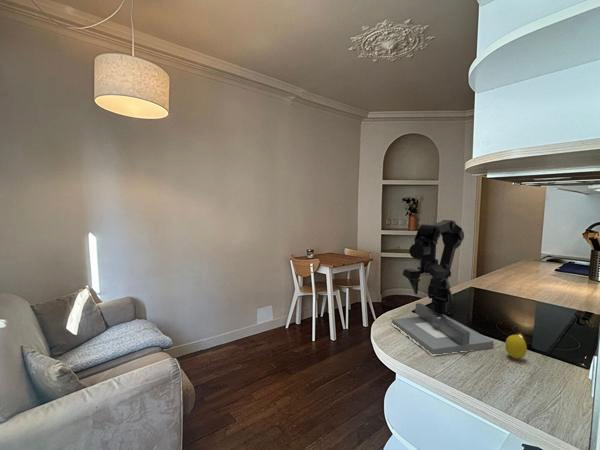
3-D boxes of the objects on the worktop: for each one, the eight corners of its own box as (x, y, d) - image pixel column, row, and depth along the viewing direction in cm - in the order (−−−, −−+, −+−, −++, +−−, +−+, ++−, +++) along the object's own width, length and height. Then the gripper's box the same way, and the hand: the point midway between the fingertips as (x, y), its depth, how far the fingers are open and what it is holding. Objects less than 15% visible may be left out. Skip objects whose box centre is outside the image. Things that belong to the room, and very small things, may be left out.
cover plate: (442, 320, 124) (443, 313, 124) (493, 348, 101) (493, 340, 101) (391, 325, 118) (392, 318, 118) (432, 356, 95) (433, 348, 95)
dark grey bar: (413, 313, 122) (413, 303, 122) (422, 312, 123) (423, 303, 123) (459, 345, 96) (460, 333, 95) (471, 344, 97) (472, 332, 96)
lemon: (501, 358, 95) (503, 334, 94) (507, 352, 98) (509, 329, 98) (522, 365, 91) (525, 340, 90) (527, 359, 94) (529, 335, 93)
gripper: (420, 260, 109) (418, 301, 111) (462, 258, 114) (460, 298, 115) (403, 255, 120) (401, 292, 122) (442, 253, 125) (440, 289, 126)
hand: (425, 293), depth 121 cm, fingers open, 9 cm apart
